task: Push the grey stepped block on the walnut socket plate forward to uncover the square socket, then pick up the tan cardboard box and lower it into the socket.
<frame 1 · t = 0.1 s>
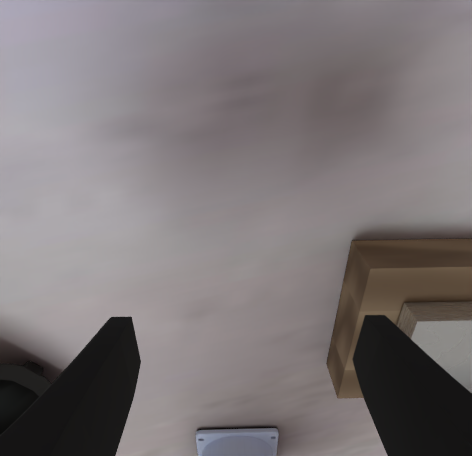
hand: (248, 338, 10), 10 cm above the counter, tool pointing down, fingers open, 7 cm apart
grey stepped block: (466, 361, 19), point 5 cm above the counter, slide at 0.0 cm
socket plate: (424, 308, 23), on the counter
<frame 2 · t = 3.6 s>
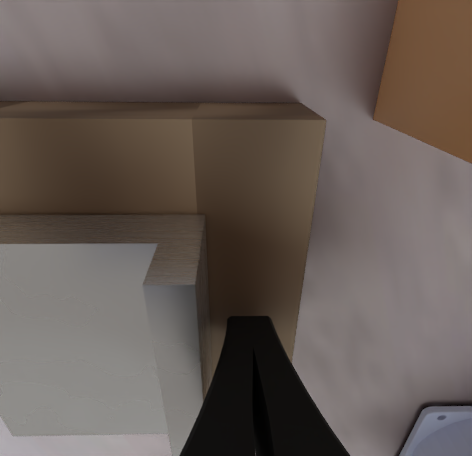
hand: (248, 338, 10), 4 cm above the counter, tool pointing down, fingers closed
grey stepped block: (87, 359, 9), point 5 cm above the counter, slide at 0.5 cm, touching gripper
tan cardboard box: (451, 51, 10), on the counter
socket plate: (143, 266, 13), on the counter
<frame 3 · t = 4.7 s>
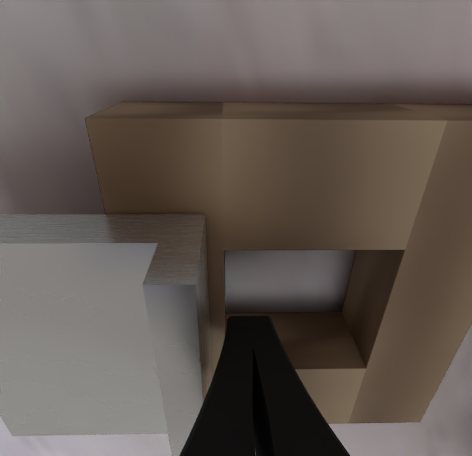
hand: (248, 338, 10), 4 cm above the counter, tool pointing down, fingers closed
grey stepped block: (87, 359, 9), point 5 cm above the counter, slide at 6.7 cm, touching gripper
socket plate: (289, 265, 13), on the counter
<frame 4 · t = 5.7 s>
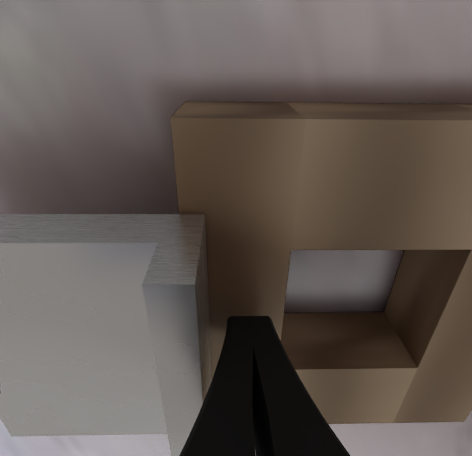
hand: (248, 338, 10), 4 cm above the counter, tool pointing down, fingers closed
grey stepped block: (86, 359, 9), point 5 cm above the counter, slide at 8.8 cm, touching gripper
socket plate: (336, 265, 13), on the counter
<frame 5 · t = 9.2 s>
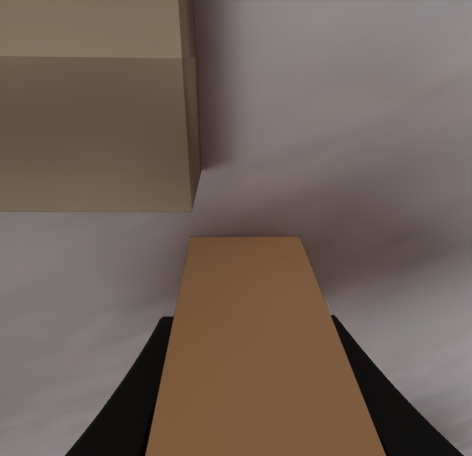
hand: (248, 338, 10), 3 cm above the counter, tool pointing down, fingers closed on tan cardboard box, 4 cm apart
tan cardboard box: (244, 279, 12), on the counter, touching gripper
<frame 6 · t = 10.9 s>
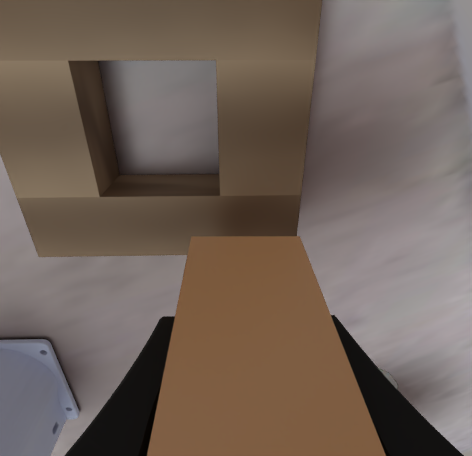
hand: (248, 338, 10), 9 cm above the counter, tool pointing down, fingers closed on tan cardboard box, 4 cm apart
tan cardboard box: (244, 279, 12), point 6 cm above the counter, touching gripper
socket plate: (164, 121, 16), on the counter
when the fingers open (4 cm above the counter, at t = 12.9 s): tan cardboard box drops 1 cm, resting in socket plate.
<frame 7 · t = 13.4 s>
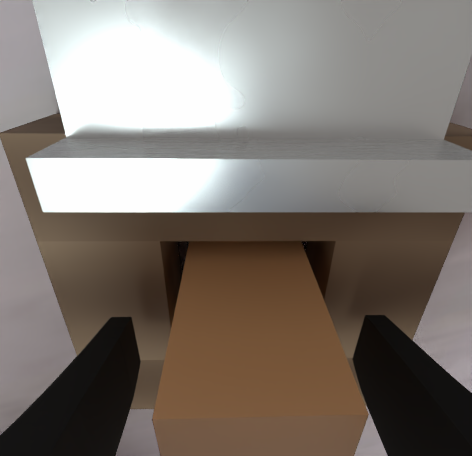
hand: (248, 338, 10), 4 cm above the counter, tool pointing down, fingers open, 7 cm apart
tan cardboard box: (242, 258, 14), resting in socket plate
socket plate: (242, 258, 14), on the counter
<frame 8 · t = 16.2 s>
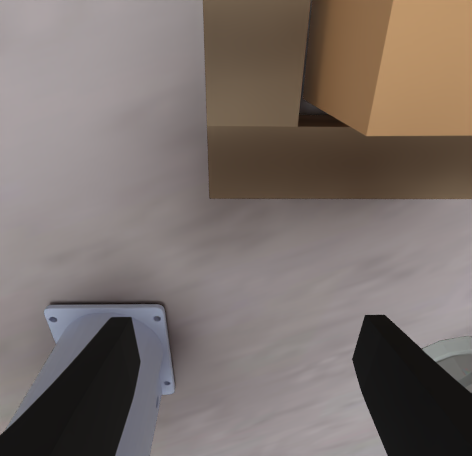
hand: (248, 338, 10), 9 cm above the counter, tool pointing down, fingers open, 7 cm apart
french press: (435, 378, 26), on the counter
tan cardboard box: (350, 52, 14), resting in socket plate
socket plate: (350, 51, 14), on the counter
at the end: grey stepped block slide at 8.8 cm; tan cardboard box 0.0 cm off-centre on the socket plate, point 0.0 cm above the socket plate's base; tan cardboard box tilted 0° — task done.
